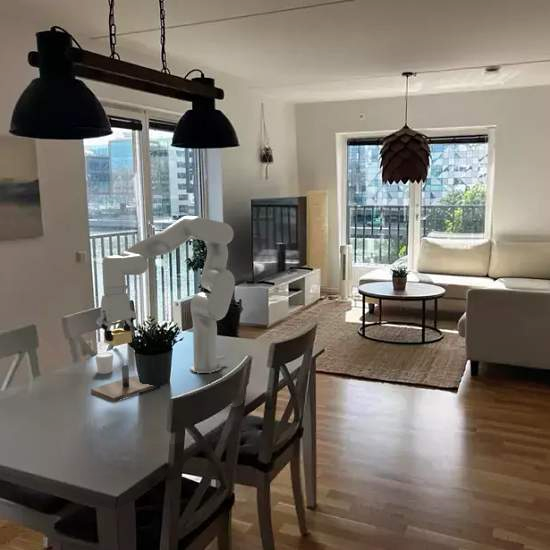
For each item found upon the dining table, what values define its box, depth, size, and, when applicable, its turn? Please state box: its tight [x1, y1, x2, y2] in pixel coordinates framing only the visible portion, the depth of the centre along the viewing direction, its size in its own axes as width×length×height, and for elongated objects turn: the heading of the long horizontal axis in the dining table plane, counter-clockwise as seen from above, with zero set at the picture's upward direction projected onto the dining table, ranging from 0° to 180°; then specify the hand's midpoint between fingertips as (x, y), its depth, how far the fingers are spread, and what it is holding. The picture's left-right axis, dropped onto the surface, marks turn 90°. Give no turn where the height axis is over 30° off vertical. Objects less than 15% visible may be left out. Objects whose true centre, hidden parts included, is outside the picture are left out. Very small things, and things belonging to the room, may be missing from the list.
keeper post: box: [121, 363, 130, 387], centre depth 207 cm, size 2×2×8 cm
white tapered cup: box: [95, 352, 114, 375], centre depth 228 cm, size 7×7×7 cm
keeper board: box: [90, 374, 154, 403], centre depth 208 cm, size 20×14×2 cm
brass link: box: [103, 328, 133, 347], centre depth 206 cm, size 7×7×4 cm
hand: (117, 338), depth 206 cm, fingers closed on brass link, 7 cm apart
